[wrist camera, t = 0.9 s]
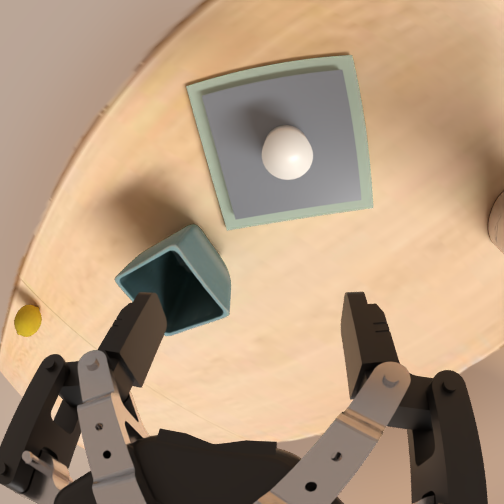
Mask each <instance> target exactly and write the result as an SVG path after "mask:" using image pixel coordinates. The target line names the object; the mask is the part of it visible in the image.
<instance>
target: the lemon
mask: <svg viewBox="0 0 504 504" xmlns="http://www.w3.org/2000/svg"><path fill="white" fill-rule="evenodd" d="M41 321H42V318H41V313H40V311H39V308H38V307H35V306H33V305H25V306H23V307H22V308H21V309H20V310H19V311H18V312H17V314H16V317H15V320H14V325H15V329H16V331H17V334H18V335H21V336H24V337H29V336H32V335H33V334H34V333H36V332H37V330H38V329H39V327H40V325H41Z"/></svg>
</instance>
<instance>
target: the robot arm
mask: <svg viewBox="0 0 504 504" xmlns="http://www.w3.org/2000/svg"><path fill="white" fill-rule="evenodd" d="M488 231H489V236H490V239H491V241H492V242H493V243H494V245H495V246H496V247H497V248H498V249H499V250H500V251H501V252H502V253H503V254H504V191H503V192H502V194H501V195H500V196H499V197H498V199H497V200H496V202H495V204H494V206H493V208H492V211H491V213H490V217H489V224H488ZM116 319H117V320H115V321H114V323H113V326H112V327H111V328H110V330H109V331H108V333H107V335H106V336H105V338H104V340H103V341H102V343H101V345H100V346H99V348H98V350H93V351H90V352H87V353H86V354H84V355H83V356H82V357H81V359H80V360H79V361H76V362H65V360H64V359H63V358H62V357H61V356H60V355H58V354H53V355H50V356H48V357H46V358H45V359H44V360H43V361H42V363H41V365H40V366H39V368H38V370H37V372H36V373H35V375H34V377H33V379H32V381H31V383H30V384H29V386H28V388H27V390H26V392H25V394H24V396H23V398H22V400H21V402H20V404H19V406H18V408H17V410H16V412H15V414H14V416H13V418H12V421H11V423H10V425H9V427H8V429H7V432H6V434H5V437H4V439H3V441H2V444H1V446H0V484H2V485H4V486H6V487H7V488H10V489H11V490H13V491H14V492H15V493H17V494H19V495H21V496H23V497H25V498H27V499H29V500H31V501H34V502H36V503H37V504H344V503H343V502H342V501H341V500H340V499H339V498H338V497H337V496H338V495H339V493H340V492H341V491H342V490H343V489H344V487H345V486H346V485H347V483H348V482H349V481H350V480H351V478H352V477H353V476H354V475H355V473H356V472H357V471H358V469H359V468H360V466H361V465H362V464H363V462H364V461H365V460H366V458H367V457H368V455H369V454H370V452H371V451H372V449H373V448H374V446H375V445H376V443H377V442H378V440H379V439H380V437H381V435H382V434H383V431H384V430H385V428H386V426H390V427H396V428H403V429H407V434H408V443H409V455H410V468H411V491H412V504H488V501H487V488H486V479H485V470H484V463H483V457H482V452H481V446H480V440H479V435H478V431H477V426H476V422H475V418H474V413H473V410H472V406H471V402H470V398H469V395H468V391H467V388H466V385H465V382H464V380H463V378H462V377H461V376H460V375H459V374H458V373H456V372H454V371H451V370H444V371H441V372H439V373H437V374H436V375H435V377H434V378H427V377H420V376H415V375H412V374H410V373H409V372H408V370H407V369H406V368H405V367H404V366H403V365H401V364H400V363H399V360H398V356H397V353H396V350H395V346H394V343H393V340H392V336H391V333H390V332H389V327H388V324H387V321H386V318H385V315H384V312H383V311H382V310H381V309H380V308H379V306H378V305H377V304H367V300H366V297H365V294H364V292H347V293H345V296H344V304H343V311H342V318H341V335H342V342H343V349H344V355H345V363H346V370H347V378H348V386H349V395H350V399H354V400H353V401H352V403H351V404H350V405H349V407H348V408H347V409H346V410H345V411H344V412H342V413H341V414H340V415H339V416H338V417H337V418H336V419H335V420H334V422H333V423H332V424H331V425H330V427H329V428H328V429H327V430H326V432H325V433H324V434H323V435H322V436H321V438H320V439H319V440H318V441H317V442H316V443H315V445H314V446H313V447H312V448H311V449H310V450H309V451H308V453H307V454H306V455H305V456H304V457H303V458H302V459H301V458H300V457H298V456H296V455H294V454H292V453H290V452H288V451H285V450H282V449H278V448H277V442H267V441H247V440H245V441H238V442H231V443H222V444H211V443H209V442H206V441H203V440H201V439H198V438H196V437H193V436H191V435H189V434H186V433H181V432H175V431H170V430H165V429H160V430H159V433H158V435H155V436H149V434H148V433H147V431H146V429H145V428H144V426H143V423H142V421H141V418H140V415H139V413H138V410H137V407H136V404H135V401H134V398H133V395H132V393H131V392H130V390H131V387H132V386H136V387H141V388H142V386H143V383H144V381H145V378H146V376H147V373H148V371H149V369H150V366H151V364H152V362H153V359H154V357H155V354H156V352H157V350H158V347H159V345H160V343H161V340H162V338H163V336H164V334H165V331H166V327H167V321H166V317H165V314H164V312H163V309H162V306H161V303H160V301H159V298H158V295H157V294H156V293H146V292H140V293H138V294H137V296H136V298H135V299H134V301H133V302H132V303H129V304H128V305H127V306H126V307H124V308H123V309H122V310H121V312H120V313H119V315H118V316H117V318H116ZM58 395H59V396H60V397H61V398H62V399H63V400H62V403H61V405H60V407H59V409H58V412H57V414H56V416H55V418H54V421H53V420H52V418H51V410H52V408H53V406H54V404H55V401H56V399H57V397H58ZM81 433H82V437H83V442H84V446H85V450H86V454H87V458H88V462H89V465H90V469H91V471H90V472H88V473H87V474H85V475H84V476H82V477H80V478H78V479H77V480H75V481H74V482H73V480H72V478H71V477H70V475H69V471H68V468H69V465H70V462H71V459H72V456H73V453H74V450H75V448H76V445H77V442H78V439H79V436H80V434H81Z"/></svg>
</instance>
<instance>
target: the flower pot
mask: <svg viewBox="0 0 504 504" xmlns="http://www.w3.org/2000/svg"><path fill="white" fill-rule="evenodd" d="M115 282H116V283H117V284H118V286H119V287H120V288H121V289H122V290H123V292H124V293H125V294H126V295H127V296H128V297H129V298H130V299H131V300H132V302H133V301H134V299H135V298H136V296H137V294H138V293H140V292H146V293H156V294H157V295H158V298H159V301H160V303H161V306H162V309H163V312H164V314H165V317H166V321H167V327H166V331H165V334H164V335H165V336H172V335H175V334H178V333H181V332H183V331H186V330H189V329H192V328H195V327H198V326H201V325H204V324H207V323H210V322H213V321H216V320H219V319H222V318H225V317H227V316H228V315H229V314H230V313H229V312H230V296H231V280H230V275H229V272H228V269H227V267H226V265H225V263H224V262H223V260H222V258H221V257H220V255H219V254H218V253H217V251H216V250H215V248H214V247H213V246H212V244H211V243H210V241H209V240H208V239H207V237H206V236H205V234H204V233H203V231H202V230H201V229H200V228H199V227H198V226H197V225H195V224H191V225H189V226H186V227H185V228H183V229H181V230H180V231H178V232H176V233H174V234H173V235H171V236H169V237H168V238H166V239H164V240H163V241H161V242H159V243H157V244H156V245H154V246H152V247H150V248H149V249H147V250H145V251H144V252H142V253H141V254H139V255H138V256H137V257H136V258H135V259H134V260H133V261H132V262H130V263H129V264H128V265H127V266H126V267H125V268H124V269H123V270H122V271H121V272H120V273H119V274H118V275H117V276H116V277H115Z"/></svg>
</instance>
